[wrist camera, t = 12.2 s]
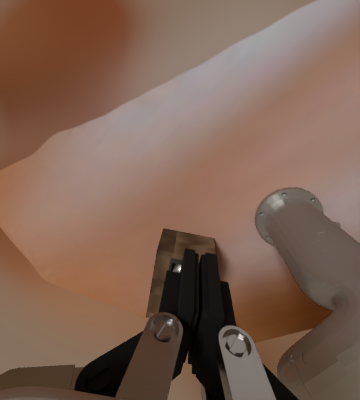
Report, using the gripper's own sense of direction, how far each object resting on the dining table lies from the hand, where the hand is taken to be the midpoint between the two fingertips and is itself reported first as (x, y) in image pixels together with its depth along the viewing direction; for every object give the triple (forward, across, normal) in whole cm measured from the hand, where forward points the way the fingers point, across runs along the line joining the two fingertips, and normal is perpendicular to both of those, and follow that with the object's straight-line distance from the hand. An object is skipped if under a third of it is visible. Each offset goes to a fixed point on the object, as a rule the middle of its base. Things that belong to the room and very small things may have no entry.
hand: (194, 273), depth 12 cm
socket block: (+32, -2, +24) cm, 40 cm away
